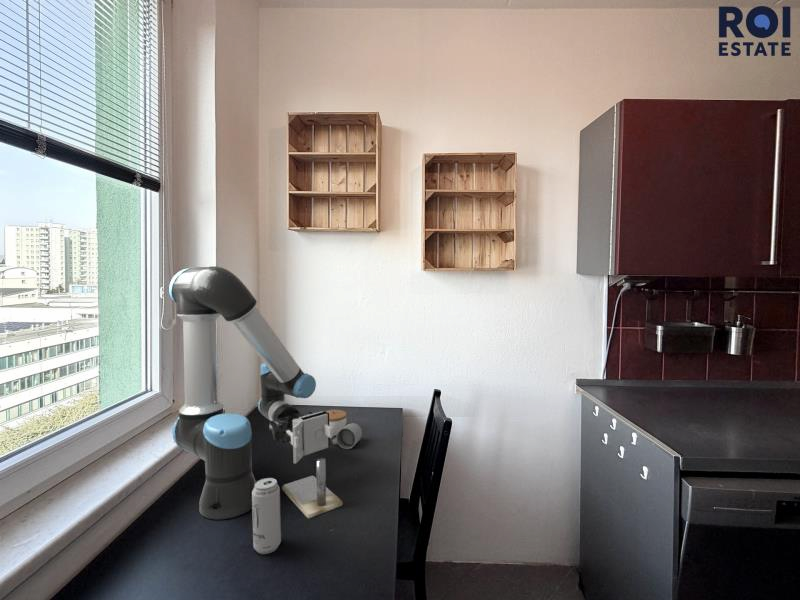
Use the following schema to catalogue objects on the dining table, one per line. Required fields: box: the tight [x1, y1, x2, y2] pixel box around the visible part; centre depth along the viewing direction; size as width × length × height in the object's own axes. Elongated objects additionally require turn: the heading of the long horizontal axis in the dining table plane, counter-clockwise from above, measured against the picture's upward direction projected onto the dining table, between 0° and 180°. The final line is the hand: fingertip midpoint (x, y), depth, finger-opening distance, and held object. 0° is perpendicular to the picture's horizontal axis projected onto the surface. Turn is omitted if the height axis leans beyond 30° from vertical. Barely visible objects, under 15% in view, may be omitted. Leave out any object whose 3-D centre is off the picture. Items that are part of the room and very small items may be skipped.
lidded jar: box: [323, 409, 348, 437], centre depth 161 cm, size 11×11×9 cm
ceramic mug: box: [331, 422, 363, 450], centre depth 150 cm, size 11×8×8 cm
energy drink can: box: [251, 477, 282, 555], centre depth 92 cm, size 6×6×15 cm
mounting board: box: [281, 475, 344, 519], centre depth 114 cm, size 10×18×1 cm, turn 37°
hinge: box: [292, 410, 331, 464], centre depth 116 cm, size 14×5×10 cm, turn 145°
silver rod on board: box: [283, 457, 333, 506], centre depth 114 cm, size 9×17×12 cm, turn 37°
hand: (314, 437), depth 112 cm, fingers closed on hinge, 9 cm apart
